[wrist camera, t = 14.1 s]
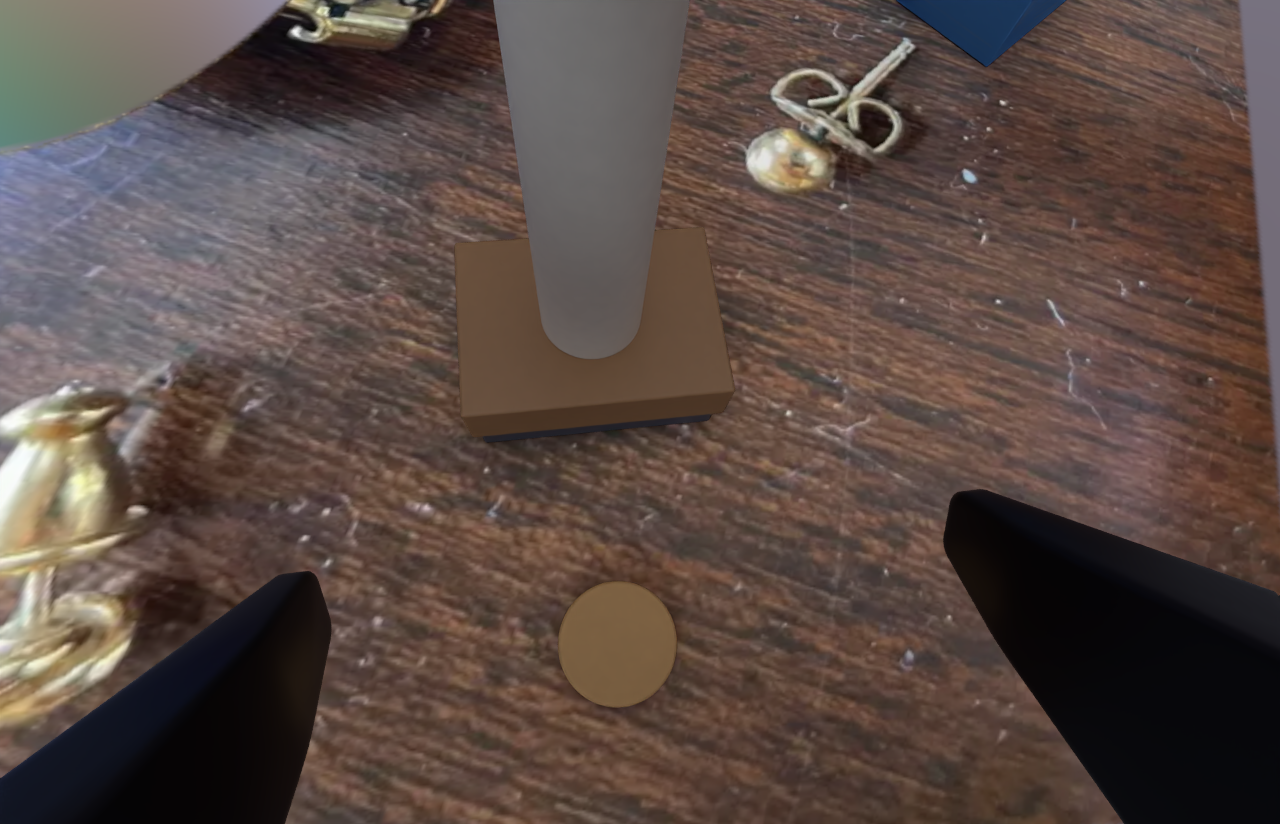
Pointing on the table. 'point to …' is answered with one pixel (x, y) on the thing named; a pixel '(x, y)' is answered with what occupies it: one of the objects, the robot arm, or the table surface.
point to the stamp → (589, 238)
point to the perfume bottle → (983, 22)
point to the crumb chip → (617, 644)
